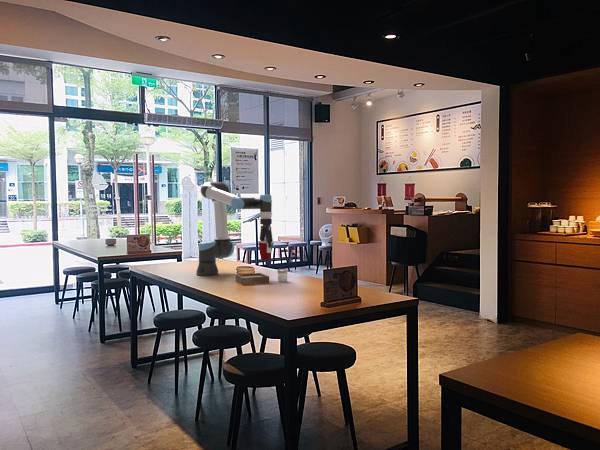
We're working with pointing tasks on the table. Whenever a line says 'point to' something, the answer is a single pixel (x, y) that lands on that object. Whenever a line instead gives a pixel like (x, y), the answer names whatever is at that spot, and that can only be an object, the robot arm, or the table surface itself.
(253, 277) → the walnut riser
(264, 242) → the plastic cup
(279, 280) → the ceramic sugar jar
